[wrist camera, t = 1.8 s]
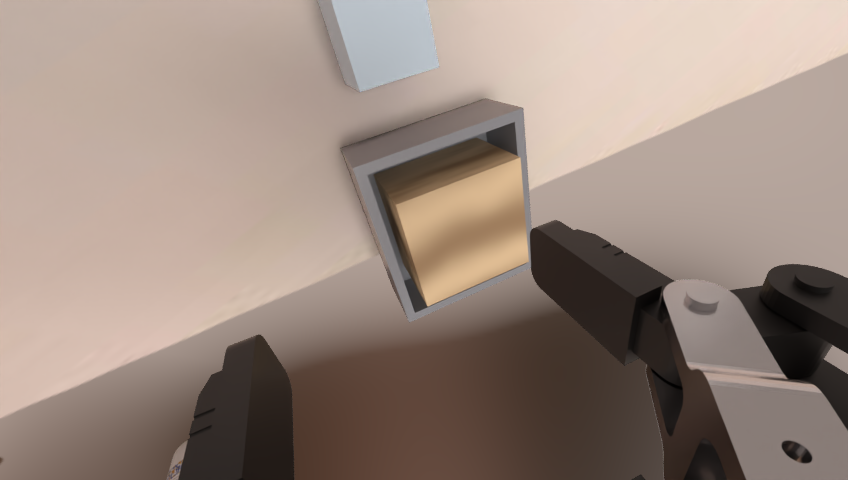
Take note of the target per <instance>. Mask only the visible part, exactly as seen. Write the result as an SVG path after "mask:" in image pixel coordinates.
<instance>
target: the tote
mask: <svg viewBox="0 0 848 480" xmlns="http://www.w3.org/2000/svg"><path fill="white" fill-rule="evenodd" d="M476 137H477V138H479V139H481V140H483V141H486V142H488V143H490V144H492V145H494V146H497V147H499V148H501V149H503V150H505V151H508V152H510V153H512V154H514V155H516V156H518V157H520V158H521V170H522V183H523V195H524V208H525V220H526V233H527V245H528V258H529V262H527V263H525V264H522V265H520V266H518V267H516V268H513V269H511V270H509V271H507V272H504V273H502V274H500V275H498V276H495V277H493V278H491V279H489V280H486V281H484V282H482V283H480V284H477V285H475V286H473V287H471V288H468V289H466V290H464V291H462V292H459V293H457V294H455V295H453V296H450V297H448V298H446V299H444V300H441V301H439V302H437V303H435V304H432V305H430V306H427V305H426V303H425V301H424V299H423V298H422V296H421V294H420V292H419V291H418V289H417V287H416V285H415V284H414V282H413V280H412V278H411V277H410V275H409V273H408V271H407V270H406V268H405V266H404V264H403V261H402V258H401V255H400V252H399V249H398V246H397V243H396V240H395V237H394V235H393V232H392V229H391V226H390V223H389V220H388V217H387V214H386V211H385V208H384V205H383V202H382V199H381V196H380V193H379V190H378V187H377V184H376V181H375V178H374V174H377V173H379V172H382V171H385V170H388V169H390V168H393V167H396V166H399V165H401V164H404V163H407V162H410V161H413V160H415V159H418V158H421V157H424V156H426V155H429V154H432V153H435V152H438V151H440V150H443V149H446V148H449V147H451V146H454V145H457V144H460V143H462V142H465V141H468V140H471V139H474V138H476ZM341 151H342V153H343V156H344V159H345V162H346V164H347V167H348V170H349V172H350V175H351V178H352V180H353V183H354V186H355V188H356V191H357V194H358V196H359V199H360V202H361V204H362V207H363V210H364V212H365V215H366V218H367V220H368V223H369V226H370V228H371V231H372V234H373V236H374V239H375V242H376V244H377V247H378V250H379V252H380V255H381V258H382V260H383V263H384V266H385V268H386V271H387V273H388V276H389V279H390V281H391V284H392V287H393V289H394V291H395V293H396V296H397V298H398V300H399V302H400V304H401V306H402V308H403V310H404V312H405V315H406V317H407V319H408V321H409V322H411V321H413V320H416V319H418V318H420V317H422V316H425V315H427V314H429V313H431V312H434V311H436V310H438V309H440V308H442V307H445V306H447V305H449V304H451V303H454V302H456V301H458V300H460V299H463V298H464V297H467V296H469V295H472V294H474V293H476V292H478V291H480V290H483V289H485V288H487V287H489V286H491V285H493V284H496V283H498V282H500V281H503V280H505V279H507V278H509V277H511V276H514V275H516V274H518V273H520V272H523V271H525V270H527V269H530V268H531V254H530V232H531V230H532V228H531V214H530V199H529V184H528V170H527V156H526V141H525V127H524V113H523V108H521V107H517V106H513V105H509V104H505V103H501V102H497V101H493V100H489V99H483V100H480V101H477V102H475V103H472V104H469V105H466V106H463V107H460V108H457V109H454V110H451V111H448V112H445V113H442V114H439V115H436V116H433V117H430V118H428V119H425V120H422V121H419V122H416V123H413V124H410V125H407V126H404V127H401V128H398V129H395V130H392V131H389V132H386V133H384V134H381V135H378V136H375V137H372V138H369V139H366V140H363V141H360V142H357V143H354V144H351V145H348V146H345V147H342V148H341Z"/></svg>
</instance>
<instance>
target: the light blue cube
mask: <svg viewBox="0 0 848 480" xmlns="http://www.w3.org/2000/svg"><path fill="white" fill-rule="evenodd" d="M317 1H318V4H319V7H320V10H321V13H322V16H323V19H324V22H325V25H326V28H327V31H328V34H329V37H330V40H331V43H332V46H333V49H334V52H335V55H336V58H337V61H338V64H339V67H340V70H341V73H342V76H343V79H344V82H345V84H346V85H348V86H350V87H351V88H353V89H355V90H357V91H359V92H362V91H365V90H368V89H372V88H375V87H378V86H381V85H384V84H387V83H391V82H394V81H397V80H400V79H403V78H406V77H410V76H413V75H416V74H419V73H422V72H426V71H429V70H432V69H435V68H438V67H439V63H438V57H437V52H436V47H435V41H434V36H433V31H432V25H431V20H430V15H429V9H428V4H427V0H317Z"/></svg>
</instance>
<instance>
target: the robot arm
mask: <svg viewBox="0 0 848 480" xmlns="http://www.w3.org/2000/svg"><path fill="white" fill-rule="evenodd" d="M530 254H531V271H532V275H533V277H534V279H535V282H536V283H537V285H538V286H539V287H540V288H541V289H542V290H543V291H544V292H545V293H546V294H547V295H548V296H549V297H550V298H551V299H553V300H554V301H555V302H556V303H557V304H558V305H559V306H560V307H561V308H562V309H563V310H565V311H566V312H567V313H568V314H569V315H570V316H571V317H572V318H573V319H574V320H575V321H577V323H578V324H580V325H581V326H582V327H583V328H584V329H585V330H586V331H587V332H588V333H589V334H590V335H591V336H593V337H594V338H595V339H596V340H597V341H598V342H599V343H600V344H601V345H602V346H603V347H604V348H605V349H607V350H608V351H609V352H610V353H611V354H612V355H613V356H614V357H615V358H616V359H617V360H618V361H620V362H621V363H622V364H623V365H624V366H625V365H627V364H629V363H631V362H633V361H635V360H637V359H639V358H640V359H641V360H643V361H644V362H645V363H646V364H647V366H646V375H647V379H648V384H649V388H650V392H651V396H652V401H653V405H654V409H655V414H656V418H657V422H658V426H659V431H660V434H661V439H662V444H663V472H664V480H848V374H847V373H845V372H843V371H841V370H840V369H838V368H837V367H835V366H834V365H832V364H830V363H829V362H827V361H825V360H824V358H825V356H826V355H827V353H828V351H829V350H830V348H831V347H832V345H834V346H835V347H837V348H839V349H841V350H842V351H844V352H846V353H847V354H848V278H846V277H843V276H841V275H839V274H836V273H834V272H831V271H829V270H825V269H822V268H818V267H814V266H808V265H800V264H788V265H781V266H777V267H774V268H773V269H771V270H770V271H769V272H768V274H767V277H766V279H765V281H764V284H763V286H758V287H750V288H743V289H736V290H727V289H725V288H724V287H721V286H719V285H717V284H714V283H711V282H707V281H702V280H695V279H684V280H678V281H674V280H672V279H670V278H669V277H667V276H665V275H663V274H662V273H660V272H658V271H657V270H655V269H653V268H651V267H650V266H648V265H646V264H645V263H643V262H641V261H640V260H638V259H636V258H635V257H633V256H631V255H629V254H628V253H624V252H623V251H622V250H621V249H619V248H617V247H616V246H614V245H613V246H612V245H611V244H610V243H609V242H607V241H606V240H604V239H602V238H601V237H599V236H597V235H596V234H592V233H588V232H585V231H581V230H578V229H577V230H572V229H571V228H569V227H568V226H566V225H565V224H563V223H561V222H560V221H557V220H554V221H551V222H549V223H546V224H543V225H541V226H538V227H536V228H533V229H532V230H531V232H530ZM189 435H190V439H188V441H187V446H186V450H185V454H184V458H183V462H182V466H181V470H180V474H179V478H178V480H294V446H293V408H292V389H291V384H290V380H289V378H288V375H287V373H286V371H285V369H284V368H283V366H282V365H281V363H280V362H279V360H278V359H277V357H276V355H275V354H274V352H273V351H272V349H271V348H270V346H269V345H268V343H267V342H266V340H265V339H264V338H263V337H262V336H261V335H256V336H253V337H251V338H248V339H246V340H243V341H240V342H238V343H235V344H233V345H230V346H228V348H227V350H226V353H225V359H224V364H223V369H222V371H220V372H217V373H215V374H212V375H211V377H210V378H209V380H208V382H207V383H206V385H205V386H204V388H203V390H202V391H201V393H200V394H199V397H198V400H197V405H196V409H195V413H194V421H192V425H191V429H190V433H189ZM632 480H645V479H644V478H643V476H642V475H639V476H637V477H635V478H634V479H632Z"/></svg>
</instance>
